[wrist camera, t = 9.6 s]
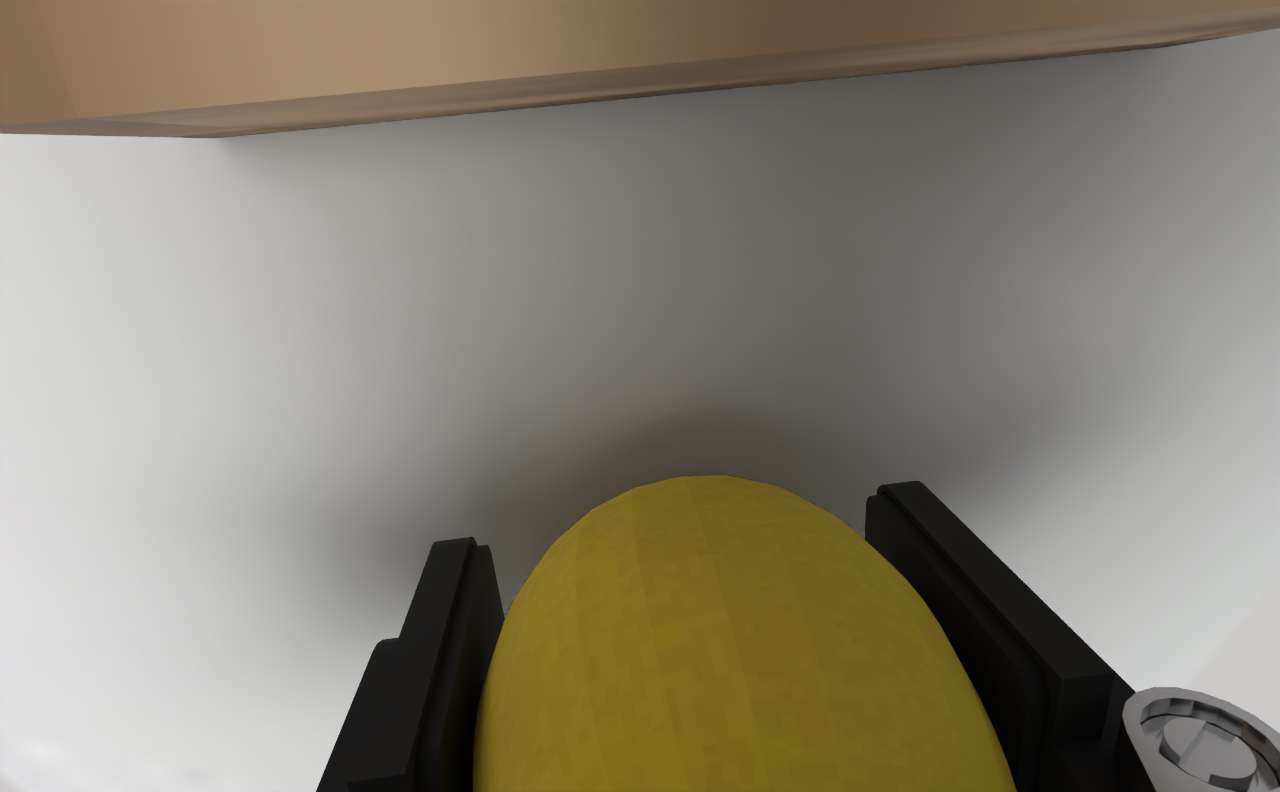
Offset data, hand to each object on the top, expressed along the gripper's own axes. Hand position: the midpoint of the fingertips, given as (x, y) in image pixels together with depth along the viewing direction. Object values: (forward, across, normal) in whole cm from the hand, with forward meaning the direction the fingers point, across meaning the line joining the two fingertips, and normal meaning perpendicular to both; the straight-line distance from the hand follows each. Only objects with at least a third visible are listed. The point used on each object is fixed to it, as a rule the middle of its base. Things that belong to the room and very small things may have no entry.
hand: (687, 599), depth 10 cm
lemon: (+2, 0, 0) cm, 2 cm away
